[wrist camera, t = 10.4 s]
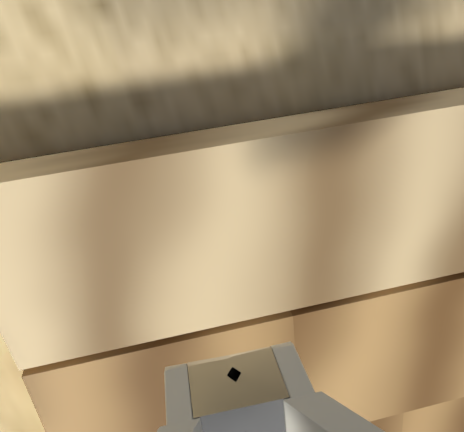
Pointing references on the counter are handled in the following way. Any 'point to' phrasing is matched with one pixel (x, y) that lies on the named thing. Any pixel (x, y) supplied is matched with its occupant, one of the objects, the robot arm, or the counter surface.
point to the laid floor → (311, 355)
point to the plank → (227, 224)
